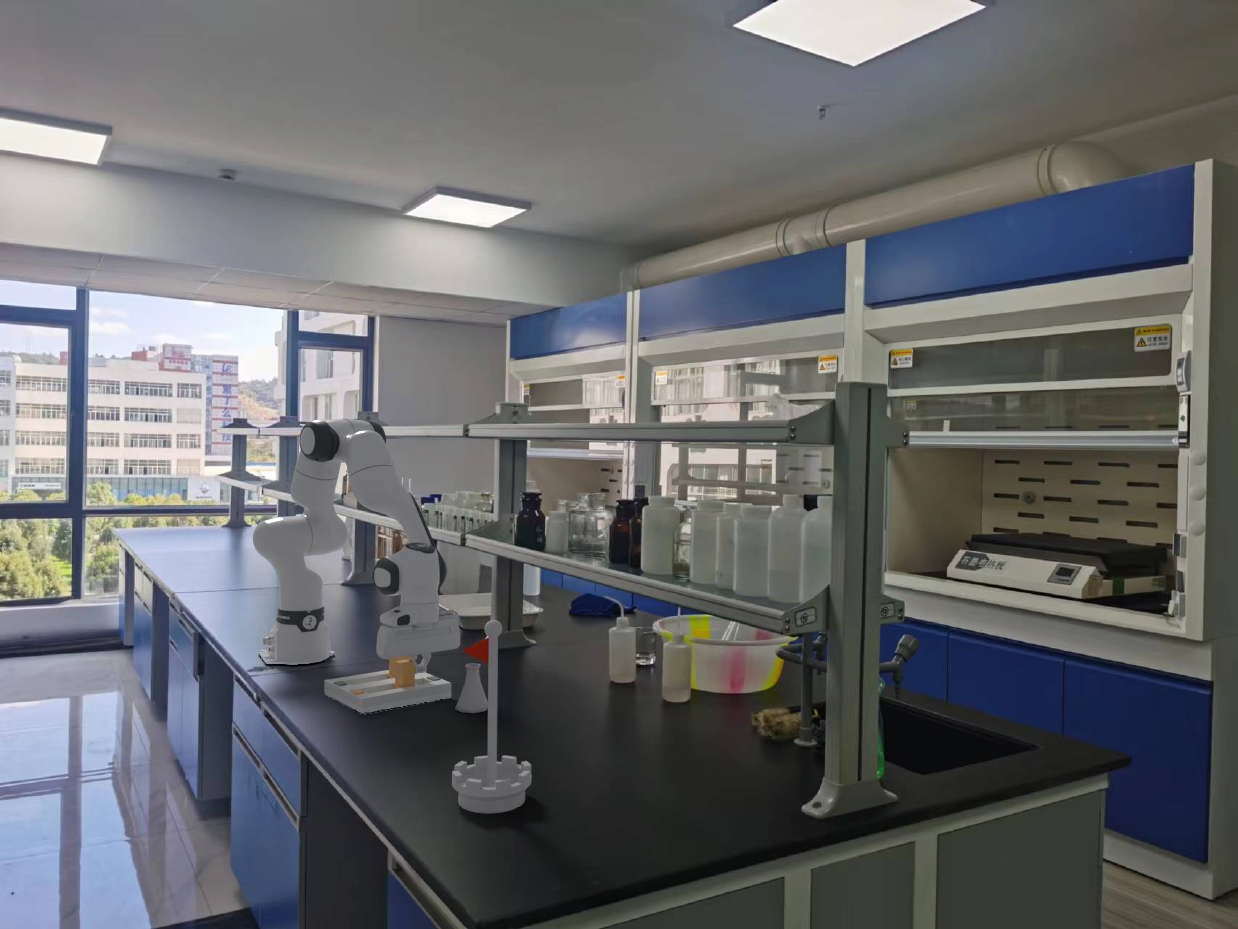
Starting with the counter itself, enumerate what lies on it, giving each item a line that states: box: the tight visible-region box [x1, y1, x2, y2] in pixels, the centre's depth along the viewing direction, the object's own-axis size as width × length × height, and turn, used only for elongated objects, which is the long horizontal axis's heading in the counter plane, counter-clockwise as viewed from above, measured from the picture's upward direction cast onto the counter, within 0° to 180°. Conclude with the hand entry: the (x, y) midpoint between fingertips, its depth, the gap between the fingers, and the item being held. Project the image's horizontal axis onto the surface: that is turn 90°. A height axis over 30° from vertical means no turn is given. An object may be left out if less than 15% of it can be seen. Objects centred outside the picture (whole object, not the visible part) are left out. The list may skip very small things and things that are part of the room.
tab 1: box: [387, 656, 408, 679], centre depth 221 cm, size 4×4×7 cm
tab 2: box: [393, 660, 416, 689], centre depth 213 cm, size 4×4×7 cm
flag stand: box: [451, 619, 532, 814], centre depth 153 cm, size 13×13×30 cm
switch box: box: [323, 669, 452, 713], centre depth 215 cm, size 20×22×4 cm
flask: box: [454, 662, 488, 714], centre depth 205 cm, size 7×7×10 cm
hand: (419, 672), depth 215 cm, fingers closed
